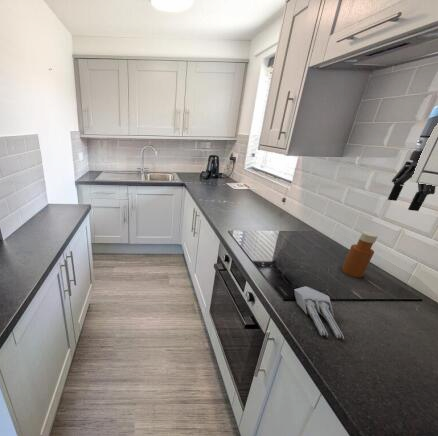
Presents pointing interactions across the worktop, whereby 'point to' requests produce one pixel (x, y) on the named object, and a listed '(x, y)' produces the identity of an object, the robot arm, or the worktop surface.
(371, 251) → the bottle
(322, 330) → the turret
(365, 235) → the bung
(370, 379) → the worktop surface
